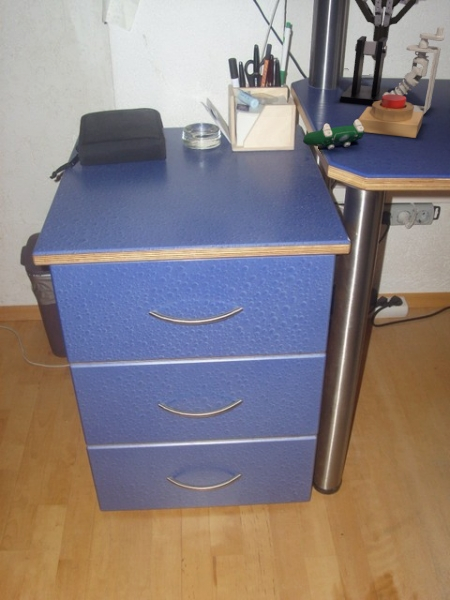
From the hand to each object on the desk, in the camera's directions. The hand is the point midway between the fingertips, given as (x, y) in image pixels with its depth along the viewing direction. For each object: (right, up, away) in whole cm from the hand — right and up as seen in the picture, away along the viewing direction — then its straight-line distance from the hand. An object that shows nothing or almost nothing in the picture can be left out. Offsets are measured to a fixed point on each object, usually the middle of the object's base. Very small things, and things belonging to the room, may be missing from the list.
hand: (379, 45), depth 125 cm
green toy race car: (-15, -28, -26) cm, 41 cm away
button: (-3, -20, -22) cm, 30 cm away
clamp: (+2, -17, -10) cm, 20 cm away
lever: (-2, -4, -3) cm, 6 cm away
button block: (-3, -23, -20) cm, 31 cm away
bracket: (-4, -12, -4) cm, 14 cm away
